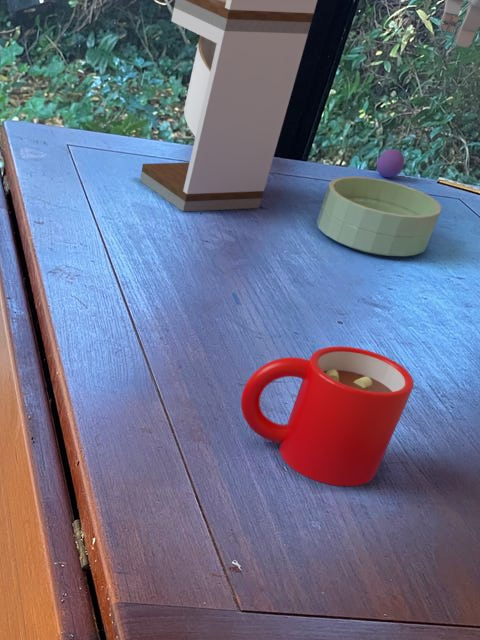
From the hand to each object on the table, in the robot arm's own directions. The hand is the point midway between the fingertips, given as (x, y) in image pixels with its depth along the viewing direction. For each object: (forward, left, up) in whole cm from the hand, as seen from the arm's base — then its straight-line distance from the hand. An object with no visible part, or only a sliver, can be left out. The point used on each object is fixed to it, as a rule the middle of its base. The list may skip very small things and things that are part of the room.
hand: (453, 37), depth 127 cm
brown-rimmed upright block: (+28, +18, -18) cm, 38 cm away
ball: (+1, -3, -16) cm, 17 cm away
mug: (+20, +79, -18) cm, 84 cm away
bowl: (+7, +24, -18) cm, 31 cm away
